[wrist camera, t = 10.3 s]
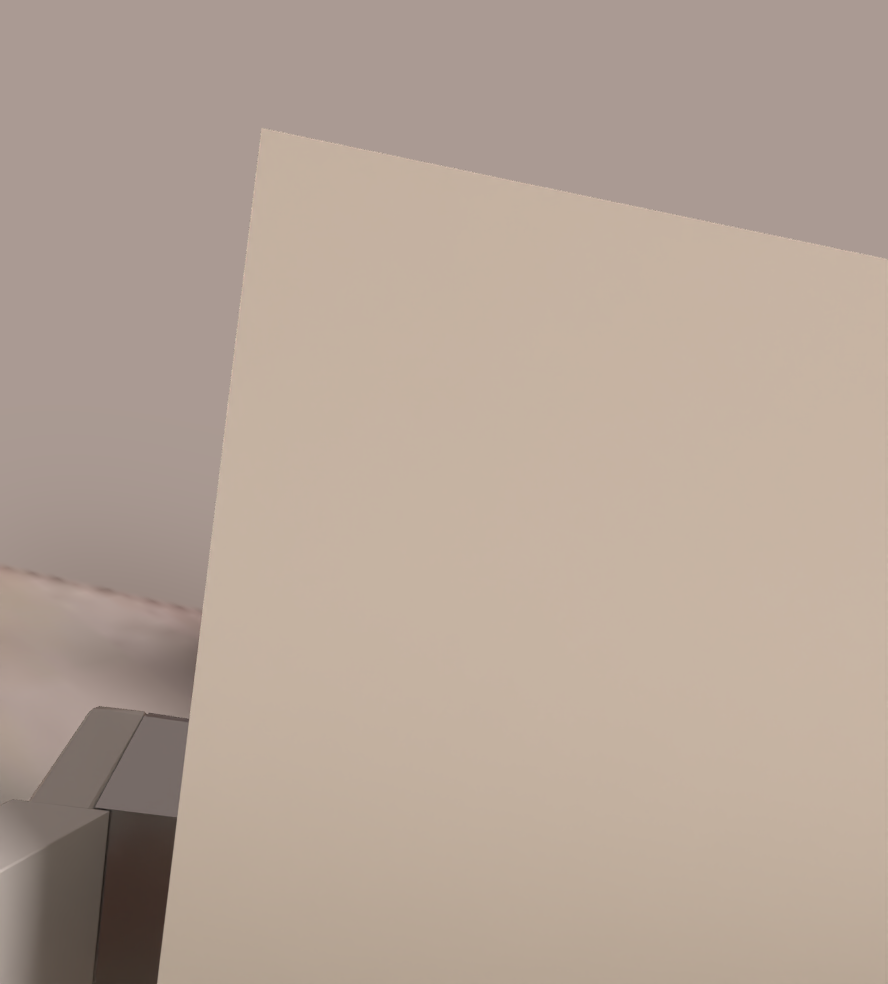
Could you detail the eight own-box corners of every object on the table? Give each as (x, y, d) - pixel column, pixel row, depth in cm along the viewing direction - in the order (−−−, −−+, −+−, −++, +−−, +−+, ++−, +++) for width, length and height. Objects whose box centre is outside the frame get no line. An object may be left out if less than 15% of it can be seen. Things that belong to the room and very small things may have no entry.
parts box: (67, 1718, 7) (262, 128, 4) (200, 1121, 12) (335, 202, 9) (618, 1720, 8) (1204, 324, 4) (530, 1148, 13) (773, 291, 9)
